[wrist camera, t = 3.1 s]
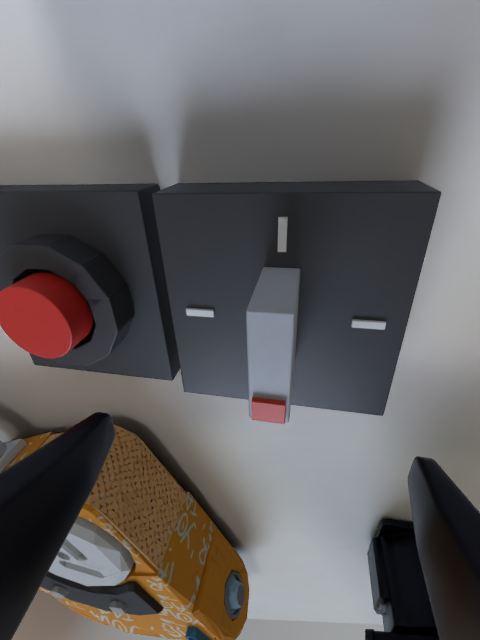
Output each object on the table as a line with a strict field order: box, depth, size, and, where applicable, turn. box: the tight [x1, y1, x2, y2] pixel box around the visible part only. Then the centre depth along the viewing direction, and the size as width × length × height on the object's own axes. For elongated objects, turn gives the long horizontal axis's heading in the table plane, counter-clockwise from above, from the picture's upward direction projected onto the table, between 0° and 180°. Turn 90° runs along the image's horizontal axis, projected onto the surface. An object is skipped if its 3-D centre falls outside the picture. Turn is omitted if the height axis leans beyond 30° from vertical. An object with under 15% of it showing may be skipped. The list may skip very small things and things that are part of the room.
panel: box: [152, 180, 441, 416], centre depth 16 cm, size 11×11×3 cm
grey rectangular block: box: [246, 267, 300, 424], centre depth 13 cm, size 5×2×4 cm, turn 2°
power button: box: [0, 272, 93, 358], centre depth 16 cm, size 4×4×2 cm
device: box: [0, 424, 249, 640], centre depth 29 cm, size 23×8×30 cm
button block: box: [0, 184, 180, 380], centre depth 18 cm, size 10×11×4 cm
